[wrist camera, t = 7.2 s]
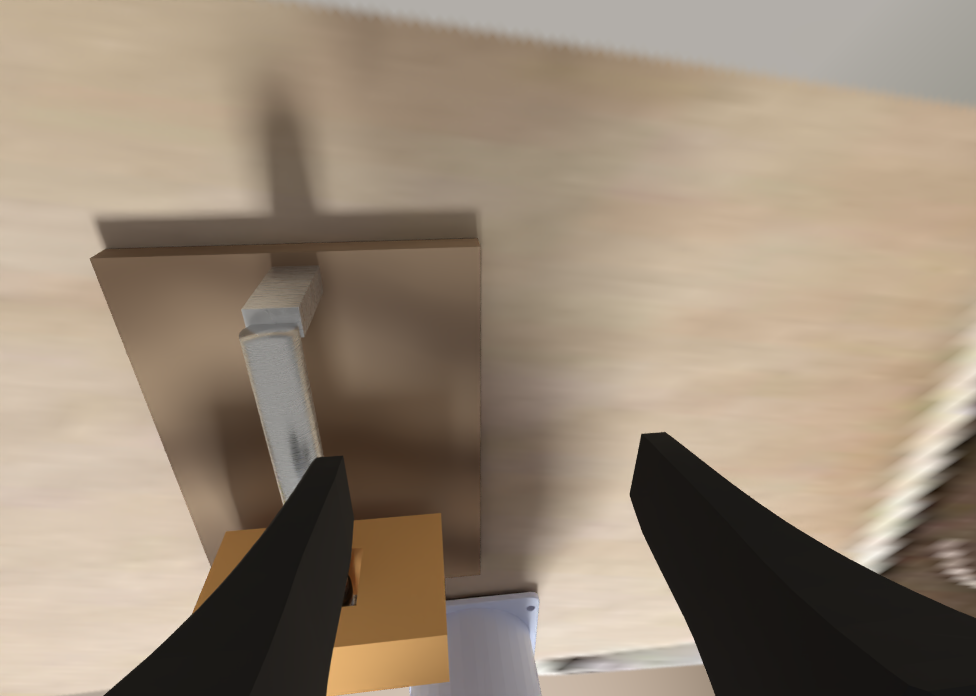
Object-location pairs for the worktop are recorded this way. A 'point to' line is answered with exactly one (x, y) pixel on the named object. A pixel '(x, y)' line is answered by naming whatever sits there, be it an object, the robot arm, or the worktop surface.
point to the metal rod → (285, 373)
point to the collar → (378, 603)
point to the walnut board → (315, 377)
